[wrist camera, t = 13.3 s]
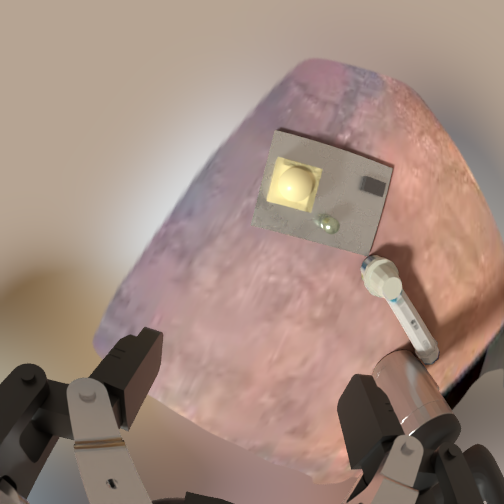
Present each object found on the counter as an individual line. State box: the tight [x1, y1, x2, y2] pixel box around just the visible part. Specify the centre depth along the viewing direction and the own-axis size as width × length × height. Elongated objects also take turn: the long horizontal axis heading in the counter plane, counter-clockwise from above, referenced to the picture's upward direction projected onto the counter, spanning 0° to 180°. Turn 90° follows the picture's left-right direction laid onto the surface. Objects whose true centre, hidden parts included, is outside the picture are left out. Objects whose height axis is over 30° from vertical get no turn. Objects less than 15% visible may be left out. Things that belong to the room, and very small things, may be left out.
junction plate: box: [251, 130, 393, 256], centre depth 32 cm, size 17×13×6 cm
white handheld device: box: [360, 255, 440, 365], centre depth 37 cm, size 5×7×25 cm
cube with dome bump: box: [267, 157, 323, 213], centre depth 31 cm, size 5×5×7 cm
